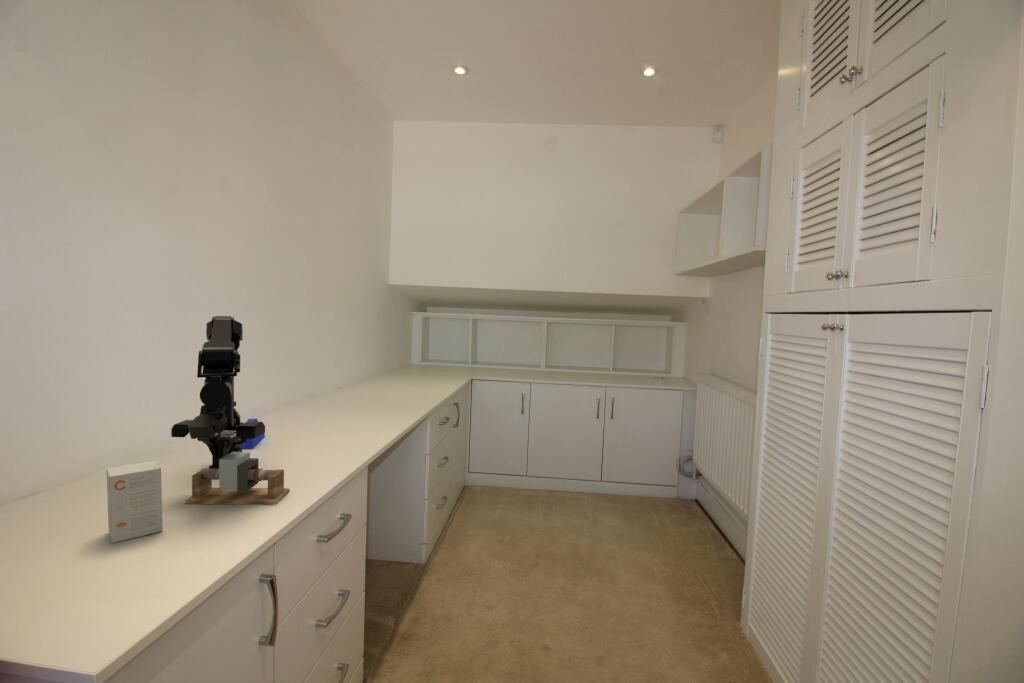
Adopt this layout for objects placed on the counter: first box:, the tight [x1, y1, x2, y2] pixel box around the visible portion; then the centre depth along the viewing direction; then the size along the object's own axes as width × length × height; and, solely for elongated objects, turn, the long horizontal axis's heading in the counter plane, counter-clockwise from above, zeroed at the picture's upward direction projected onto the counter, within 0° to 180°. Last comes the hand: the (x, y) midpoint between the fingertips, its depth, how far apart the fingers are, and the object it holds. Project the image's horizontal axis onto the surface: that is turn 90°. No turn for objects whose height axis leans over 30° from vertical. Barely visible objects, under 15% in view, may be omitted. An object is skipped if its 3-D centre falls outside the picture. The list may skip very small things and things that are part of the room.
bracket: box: [238, 418, 266, 450], centre depth 161 cm, size 18×8×9 cm, turn 13°
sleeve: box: [218, 451, 251, 490], centre depth 115 cm, size 4×6×7 cm, turn 2°
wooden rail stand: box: [184, 467, 290, 506], centre depth 115 cm, size 20×8×7 cm, turn 92°
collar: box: [237, 457, 260, 492], centre depth 115 cm, size 2×6×6 cm, turn 2°
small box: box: [106, 460, 163, 544], centre depth 96 cm, size 8×6×13 cm
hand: (219, 465), depth 115 cm, fingers closed
